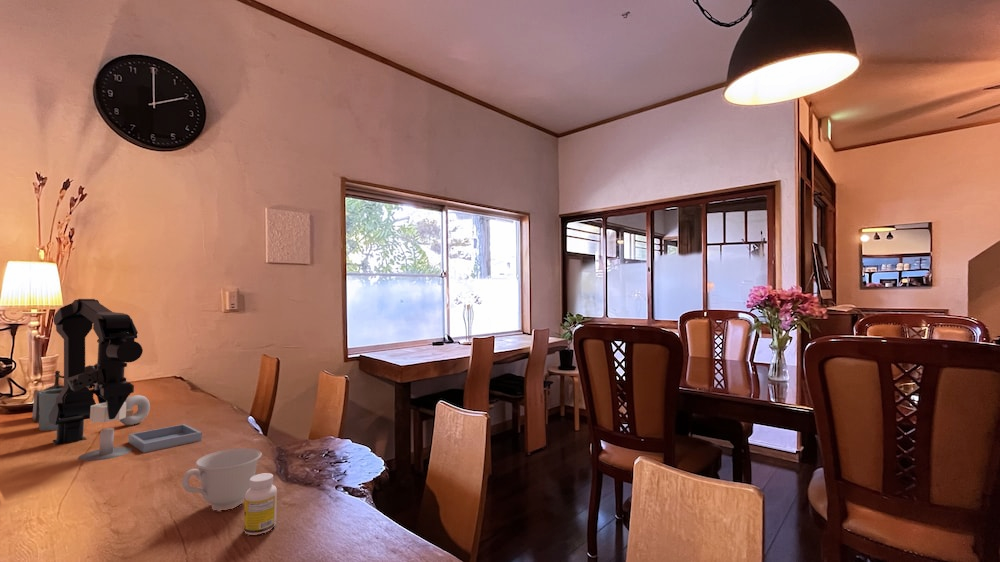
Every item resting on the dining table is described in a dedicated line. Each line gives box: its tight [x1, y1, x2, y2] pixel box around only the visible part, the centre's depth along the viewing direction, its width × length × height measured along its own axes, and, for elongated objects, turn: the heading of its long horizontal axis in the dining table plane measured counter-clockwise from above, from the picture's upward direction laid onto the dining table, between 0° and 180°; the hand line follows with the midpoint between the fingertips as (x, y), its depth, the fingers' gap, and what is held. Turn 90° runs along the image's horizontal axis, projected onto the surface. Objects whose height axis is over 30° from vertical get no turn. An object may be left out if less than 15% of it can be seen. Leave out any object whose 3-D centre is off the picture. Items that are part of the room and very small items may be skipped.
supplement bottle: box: [243, 472, 278, 534], centre depth 83 cm, size 5×5×10 cm
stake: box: [77, 427, 133, 462], centre depth 120 cm, size 11×11×7 cm
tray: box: [128, 423, 203, 454], centre depth 131 cm, size 14×14×3 cm
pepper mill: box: [31, 364, 94, 423], centre depth 159 cm, size 16×11×18 cm
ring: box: [89, 402, 134, 424], centre depth 121 cm, size 7×9×4 cm
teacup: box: [181, 447, 263, 510], centre depth 91 cm, size 12×15×10 cm
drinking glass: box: [38, 388, 63, 432], centre depth 145 cm, size 10×10×12 cm
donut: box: [119, 394, 151, 426], centre depth 149 cm, size 10×3×10 cm, turn 168°
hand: (108, 416), depth 120 cm, fingers closed on ring, 7 cm apart
